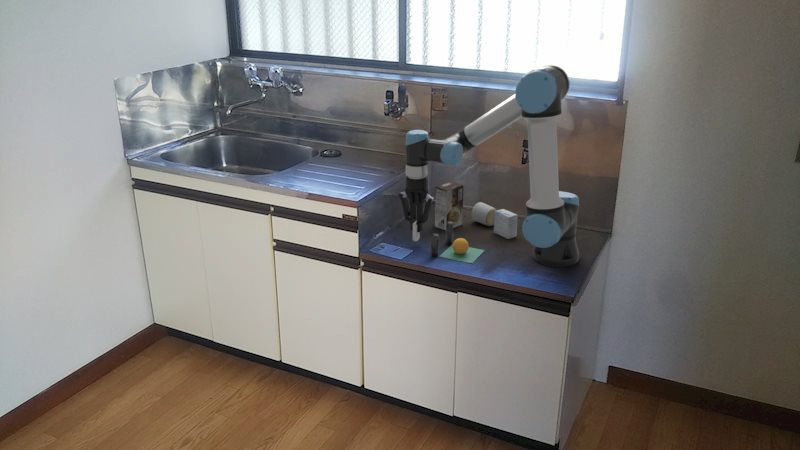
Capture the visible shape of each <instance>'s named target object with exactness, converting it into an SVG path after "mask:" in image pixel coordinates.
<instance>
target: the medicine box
mask: <svg viewBox="0 0 800 450" xmlns="http://www.w3.org/2000/svg"><path fill="white" fill-rule="evenodd" d="M496 210H497V211H495V215H494V225H493V233H494V234H496V235H498V236H501V237H502V238H505V239H507V240H509V239H513V238H516V237H517V236H518V235H517V232H518V230H517V229H518V216H519V215H518V214H517V213H515V212H512V211H510V210H507V209H505V208H502V209H496Z"/></svg>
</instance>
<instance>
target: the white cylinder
mask: <svg viewBox="0 0 800 450" xmlns="http://www.w3.org/2000/svg"><path fill="white" fill-rule="evenodd" d="M497 210H498V209H496V208H495V207H493V206H491V205H489V204H487V203H484V202H482V201H479V202H477V203H475V204H474V206H473V208H472V210H471V219H472V221H474V222H476V223H478V224H482V225H484V226H487V227H492V226H494V215H495V211H497Z"/></svg>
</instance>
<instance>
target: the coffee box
mask: <svg viewBox="0 0 800 450" xmlns="http://www.w3.org/2000/svg"><path fill="white" fill-rule="evenodd" d="M434 191H435V192H434V193H435V196H434V198H435V199H434V202H435V203H434V206H435V207H434V227H436V228H437V229H441V230H443V231H446V222H447V221H452V222H453V229H454V228H457V227H461V226H462V225H463V222H464V221H463V220H464V219H463V218H464V215H463V213H464V212H463V211H464V184H461V183H459V182H456V181H453V180H451V181H448V182H445V183H442V184H438V185H436V186H435V190H434Z"/></svg>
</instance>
